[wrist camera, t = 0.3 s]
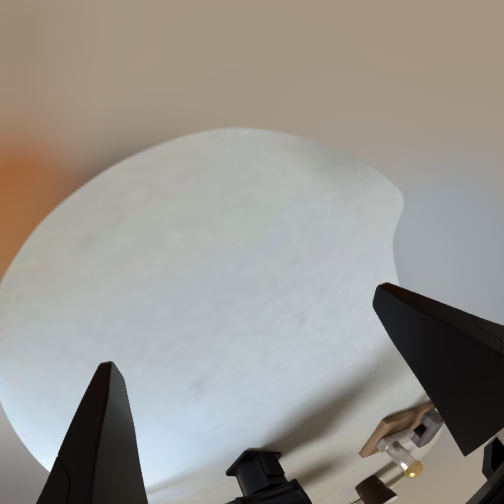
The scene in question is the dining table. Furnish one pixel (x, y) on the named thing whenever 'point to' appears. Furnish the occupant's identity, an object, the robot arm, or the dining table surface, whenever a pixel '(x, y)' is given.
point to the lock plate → (417, 419)
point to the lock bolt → (401, 452)
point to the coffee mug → (375, 491)
